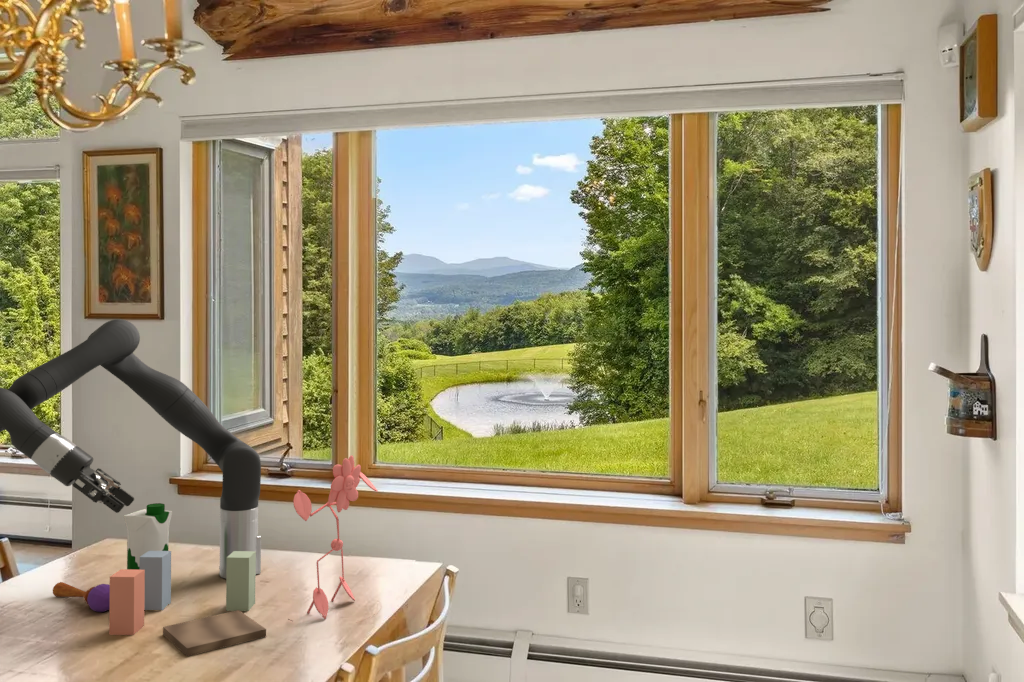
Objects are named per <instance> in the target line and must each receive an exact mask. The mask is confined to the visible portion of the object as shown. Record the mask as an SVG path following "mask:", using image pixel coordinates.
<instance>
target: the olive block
mask: <svg viewBox="0 0 1024 682" xmlns="http://www.w3.org/2000/svg"><path fill="white" fill-rule="evenodd" d="M256 575H257V574H256V551H233V552H232V553H231V554H230V555H229V556H228V557H227V574H226V578H225V579H226V582H225V583H226V586H225V588H226V593H225V595H226V596H225V598H226V599H225V600H226V602H225V610H226V611H227V612H228V611H229V612H232V611H237V610H239V611H241V612H249V611H250V610H251V609H252V608H253V607H254V606H255V604H256V577H257V576H256Z"/></svg>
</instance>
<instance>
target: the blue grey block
mask: <svg viewBox="0 0 1024 682" xmlns="http://www.w3.org/2000/svg"><path fill="white" fill-rule="evenodd" d="M140 570H145V603H144V610H162V611H164V610H165V609H166V608H167V607H168V606H169V605H170V604H171V603H172V551H171V550H168V551H148V552H146V553H145V554H143V555H142V556H140ZM168 604H169V605H168ZM167 605H168V606H167ZM166 606H167V607H166ZM165 607H166V608H165ZM164 608H165V609H164Z"/></svg>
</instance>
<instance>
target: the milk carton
mask: <svg viewBox="0 0 1024 682" xmlns="http://www.w3.org/2000/svg"><path fill="white" fill-rule="evenodd" d="M165 507H166V506H165V503H160V502H159V503H148V504H147V505H146V508H144V509H140V510H137V511H134V512H131V513H128V514H124V515H123V518H124V522H125V526H126V530H127V531H126V532H127V536H126V537H127V538H126V539H127V542H126V545H127V547H126V549H127V550H126V551H127V552H126V569H133V570H140V556H142V555H143V554H145V553H146V552H148V551H169V542H170V540H169V538H170V537H169V533H170V532H169V531H170V526H171V525H170V524H171V520H172V515H173V511H172V510H166V509H165Z"/></svg>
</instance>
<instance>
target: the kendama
mask: <svg viewBox="0 0 1024 682" xmlns="http://www.w3.org/2000/svg"><path fill="white" fill-rule="evenodd" d="M52 594H53V596H54V597H58V598H83V599H84V601H85V603H86V605H87V606H88V607H89V608H90V609H91V610H92V611H93V612H98V613H105V612H107V611H109V610H110V584H107V583H101V584H97V585H96V586H93V587H90V588H88V589H87V590H86V591H85V590H82V589H79V588H77V587H75V586H73V585H70V584H68V583H65V582H62V581H60V582H57V583H55V584H54V586H53V588H52Z"/></svg>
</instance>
